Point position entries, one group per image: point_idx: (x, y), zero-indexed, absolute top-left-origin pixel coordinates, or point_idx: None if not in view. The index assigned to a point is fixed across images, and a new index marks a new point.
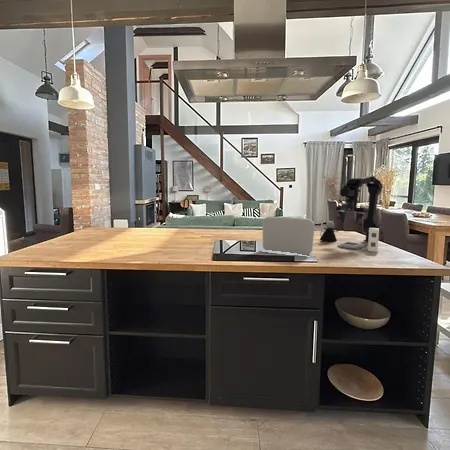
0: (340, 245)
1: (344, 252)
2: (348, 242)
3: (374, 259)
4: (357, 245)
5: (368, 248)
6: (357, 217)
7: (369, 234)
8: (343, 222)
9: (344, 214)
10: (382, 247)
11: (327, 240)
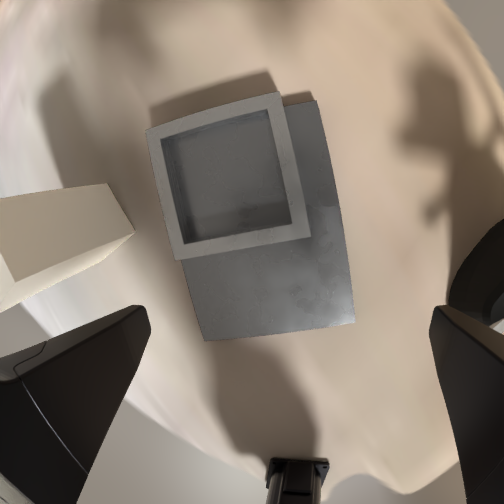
0: (295, 114)
1: (162, 6)
2: (287, 223)
3: (23, 51)
4: (149, 151)
5: (95, 185)
6: (30, 356)
7: (20, 196)
8: (430, 331)
9: (490, 484)
10: (141, 367)
11: (491, 237)
